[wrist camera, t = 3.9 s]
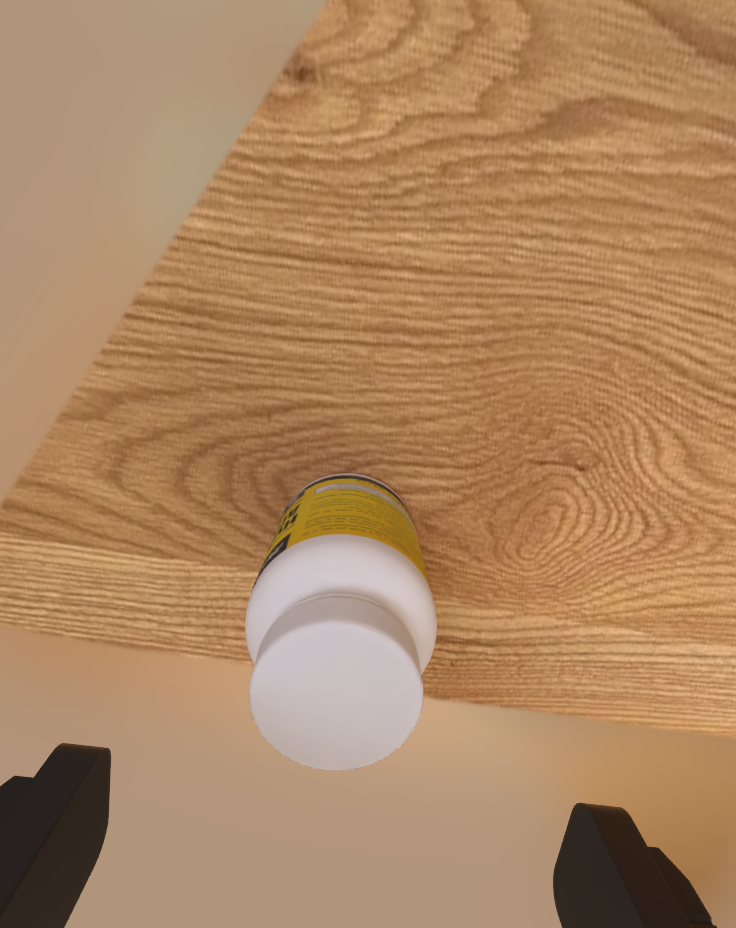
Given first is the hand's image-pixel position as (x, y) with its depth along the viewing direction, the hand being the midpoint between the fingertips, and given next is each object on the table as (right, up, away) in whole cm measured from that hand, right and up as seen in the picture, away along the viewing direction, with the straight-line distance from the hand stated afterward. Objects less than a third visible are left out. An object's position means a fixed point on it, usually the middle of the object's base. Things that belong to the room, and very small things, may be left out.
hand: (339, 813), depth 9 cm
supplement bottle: (0, +3, +12) cm, 13 cm away
